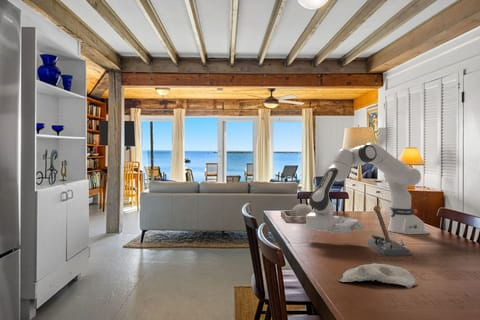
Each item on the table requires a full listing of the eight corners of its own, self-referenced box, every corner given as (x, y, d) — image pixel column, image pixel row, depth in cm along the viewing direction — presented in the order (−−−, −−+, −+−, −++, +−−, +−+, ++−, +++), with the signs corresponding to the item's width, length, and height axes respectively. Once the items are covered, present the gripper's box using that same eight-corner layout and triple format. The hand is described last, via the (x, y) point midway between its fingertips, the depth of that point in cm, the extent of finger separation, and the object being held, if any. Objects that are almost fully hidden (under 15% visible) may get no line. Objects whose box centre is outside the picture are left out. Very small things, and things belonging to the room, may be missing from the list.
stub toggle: (402, 248, 167) (399, 240, 168) (403, 247, 169) (400, 239, 170) (405, 248, 167) (402, 239, 167) (406, 247, 169) (403, 238, 169)
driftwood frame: (313, 216, 266) (313, 210, 266) (322, 222, 241) (322, 216, 241) (280, 215, 265) (280, 210, 265) (285, 222, 241) (285, 216, 241)
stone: (410, 266, 139) (423, 280, 124) (407, 284, 139) (420, 301, 125) (337, 252, 143) (342, 265, 128) (334, 270, 144) (339, 284, 129)
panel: (391, 244, 186) (391, 234, 186) (410, 255, 166) (410, 244, 166) (367, 244, 186) (368, 234, 186) (384, 255, 166) (384, 244, 166)
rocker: (381, 239, 184) (381, 236, 184) (383, 241, 180) (384, 238, 180) (371, 237, 183) (372, 234, 183) (374, 238, 180) (374, 236, 180)
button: (389, 240, 183) (390, 235, 183) (392, 241, 180) (392, 237, 180) (383, 240, 183) (383, 235, 183) (386, 241, 180) (386, 236, 180)
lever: (385, 247, 171) (371, 207, 174) (387, 245, 174) (373, 205, 178) (392, 246, 169) (378, 205, 172) (394, 244, 173) (380, 204, 176)
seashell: (299, 227, 261) (287, 210, 262) (315, 215, 261) (303, 198, 261) (302, 231, 246) (289, 213, 247) (319, 219, 246) (306, 201, 246)
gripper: (329, 221, 177) (358, 224, 169) (341, 215, 194) (368, 218, 187) (329, 234, 177) (358, 238, 169) (341, 227, 194) (368, 230, 187)
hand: (363, 227), depth 178 cm, fingers closed
